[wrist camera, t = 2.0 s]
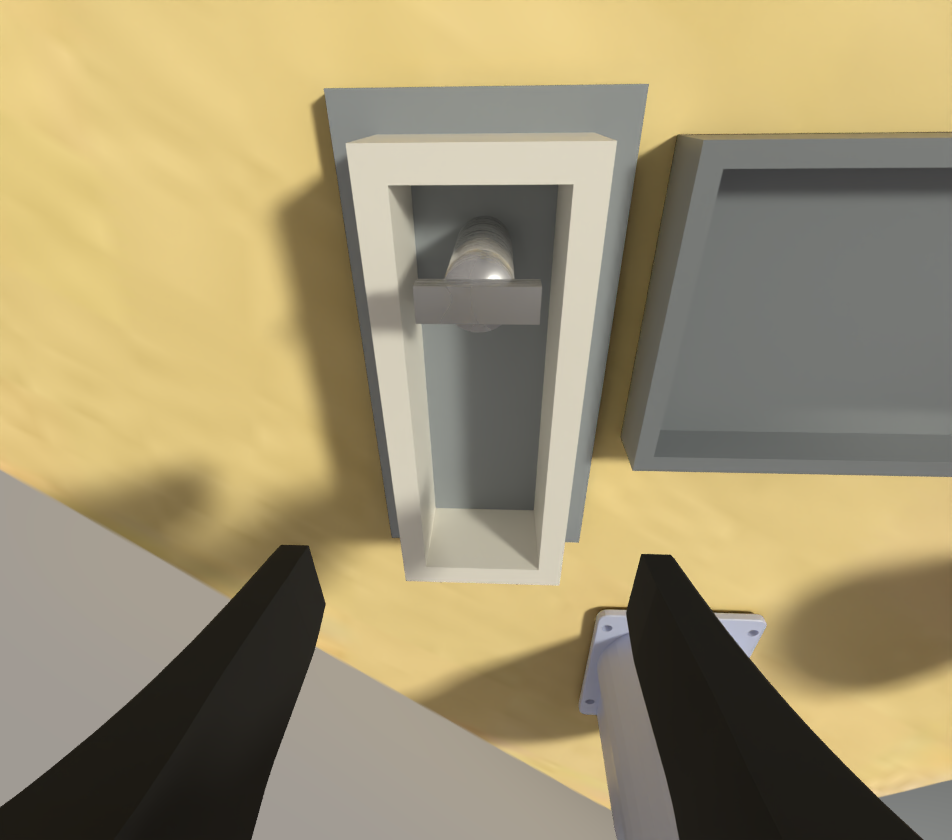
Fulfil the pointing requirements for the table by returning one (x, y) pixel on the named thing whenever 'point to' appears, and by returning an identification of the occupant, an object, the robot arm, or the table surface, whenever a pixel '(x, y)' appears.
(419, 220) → the stake base
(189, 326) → the table surface
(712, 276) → the tray
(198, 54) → the table surface
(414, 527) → the cream rectangular sleeve
